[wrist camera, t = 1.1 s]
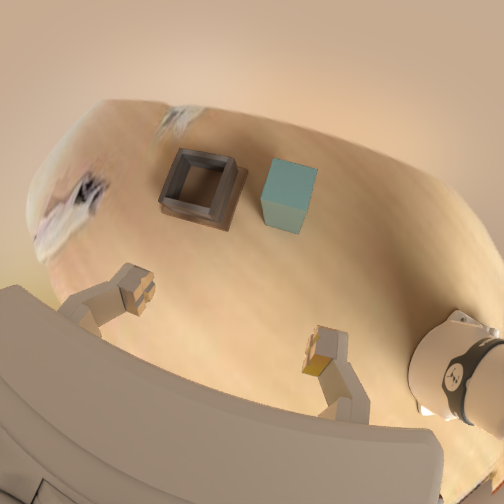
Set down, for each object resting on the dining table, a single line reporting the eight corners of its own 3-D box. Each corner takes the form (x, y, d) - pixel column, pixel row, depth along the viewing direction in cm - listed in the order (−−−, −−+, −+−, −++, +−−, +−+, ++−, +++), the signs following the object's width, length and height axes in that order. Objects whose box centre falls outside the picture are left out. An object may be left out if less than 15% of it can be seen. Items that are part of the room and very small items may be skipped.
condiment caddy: (248, 171, 42) (243, 155, 36) (228, 231, 40) (220, 223, 35) (185, 158, 43) (174, 142, 37) (163, 214, 42) (149, 204, 36)
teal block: (306, 202, 40) (317, 169, 28) (298, 234, 40) (306, 211, 28) (274, 194, 41) (273, 157, 29) (265, 224, 40) (260, 198, 28)
